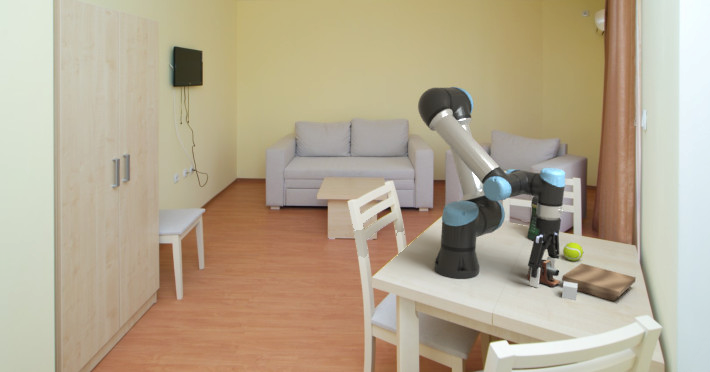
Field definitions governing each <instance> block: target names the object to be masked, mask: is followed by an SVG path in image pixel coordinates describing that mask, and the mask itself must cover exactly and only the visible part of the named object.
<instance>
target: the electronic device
mask: <svg viewBox="0 0 710 372" xmlns="http://www.w3.org/2000/svg"><path fill="white" fill-rule="evenodd" d="M539 268H540V278H539V284H543V285H547V286H549V287H550V288H552V289H553V288H555V287H557V286H558V285H559V284H560V283H561V281H560V280H558V279H556V278H555V277H559V274H560V270H559V269H556V268H555V269H554V268H552V265H551V261H549V260H547V259H543V258H542V260H541V263H540V266H539ZM527 272H528V273H527V276H526V277H527V278H526V280H528V281H530V275H531V267H530V266H528V271H527ZM553 276H554V278H553Z"/></svg>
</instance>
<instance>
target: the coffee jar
mask: <svg viewBox="0 0 710 372" xmlns="http://www.w3.org/2000/svg"><path fill="white" fill-rule="evenodd" d="M537 202H538V197H537V196H532V199H531V204H530V206H531V215H530V221H529V226H528V231H527V238H528V239H529V240H531V241H533V242H534V236H538V235H539V232H540V230H539V229H537V228H536V227H535V223H536V217H537V216H538V215H537V214H536V211H537Z"/></svg>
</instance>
